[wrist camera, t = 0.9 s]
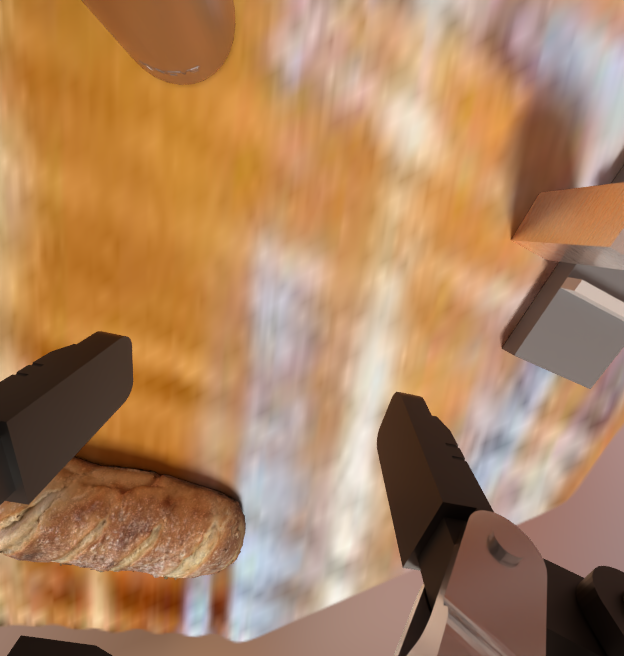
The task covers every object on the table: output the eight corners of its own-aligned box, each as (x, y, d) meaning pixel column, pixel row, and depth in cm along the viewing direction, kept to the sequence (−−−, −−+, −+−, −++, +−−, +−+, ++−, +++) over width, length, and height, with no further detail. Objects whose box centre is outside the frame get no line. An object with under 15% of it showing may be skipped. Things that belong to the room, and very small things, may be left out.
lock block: (510, 240, 31) (611, 247, 22) (539, 192, 30) (661, 177, 20) (546, 259, 32) (657, 274, 23) (575, 214, 31) (706, 210, 21)
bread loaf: (286, 455, 39) (286, 519, 30) (258, 557, 43) (250, 639, 34) (-13, 405, 34) (-121, 462, 25) (-12, 525, 38) (-105, 611, 29)
